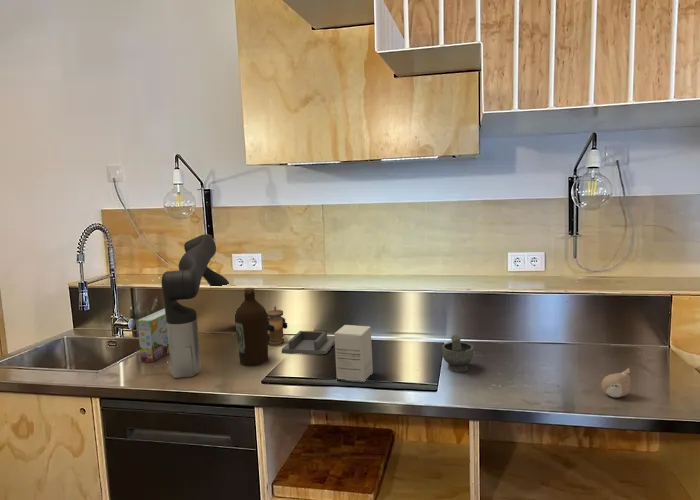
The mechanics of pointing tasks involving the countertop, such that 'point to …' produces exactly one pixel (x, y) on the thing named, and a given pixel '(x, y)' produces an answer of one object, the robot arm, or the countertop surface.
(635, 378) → the countertop surface
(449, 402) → the countertop surface
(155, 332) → the snack box
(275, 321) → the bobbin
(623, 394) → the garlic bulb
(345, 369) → the supplement box
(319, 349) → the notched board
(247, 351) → the olive oil
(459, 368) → the mortar and pestle
